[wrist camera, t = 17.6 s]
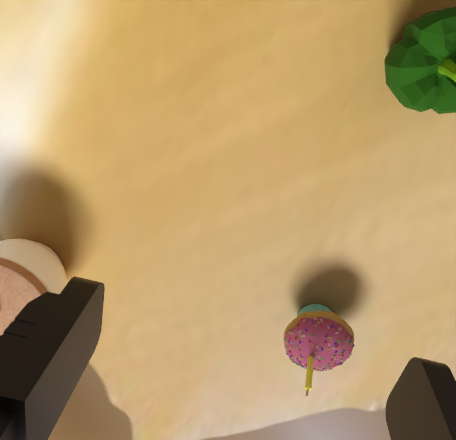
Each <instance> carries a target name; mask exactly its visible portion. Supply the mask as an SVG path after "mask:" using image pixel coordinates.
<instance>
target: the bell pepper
mask: <svg viewBox="0 0 456 440" xmlns="http://www.w3.org/2000/svg"><path fill="white" fill-rule="evenodd" d="M385 73H386V84H387V85H388V87H389V88H390V90H391V91H392V92H393V94H394V95H395V96H396V98H397V99H398V101H399V102H400V103H401V104H402V105H403V106H405V107H407V108H410V109H413V110H417V111H420V112H422V111H425V110H428V109H430V108H431V109H433V110H434V111H436V112H437V113H438V114H442V113H453V112H456V8H448V9H443V10H439V11H434V12H430V13H426V14H425V15H423V16H421V17H420V18H418V19H416V20H415V21H413V22H411V23H410V24H408V25H407V26H406V27H405V28H404V29H403V37H402V40H400V41H398V42H396V43H394V44H393V46H392V48H391V49H390V51H389V53H388V55H387V56H386V58H385Z"/></svg>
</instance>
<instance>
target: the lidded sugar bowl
mask: <svg viewBox="0 0 456 440" xmlns="http://www.w3.org/2000/svg"><path fill="white" fill-rule="evenodd" d="M66 285H67V277H66V272H65V270H64V267H63V265H62V263H61V260H60V259H59V257H58V255H57V254H56V253H55V252H54V251H53V250H52V249H51V248H49V247H48V246H46V245H44V244H42V243H39V242H35V241H31V240H26V239H6V240H2V241H0V335H3V333H4V330H5V329H6V328H7V327H8V326H9V325H10V323H11V322H14V319H15V317H16V316H17V315H18V314H19V313H20V311H21V310H22V309H23V308H24V307H25V305H26V304H27V303H28V302H30V301H32V300H33V299H35V298H37V297H39V296H40V295H42V294H44V293H45V292H51V293H56V294H60V293H61V291H62V290H63V289H64V287H65V286H66Z"/></svg>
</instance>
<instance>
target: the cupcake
mask: <svg viewBox="0 0 456 440" xmlns="http://www.w3.org/2000/svg"><path fill="white" fill-rule="evenodd" d="M353 342H354V333H353V330H352V328H351V327H350V326H349V325H348V324H347V323H346V322H345V321H344V320H342V319H341V318H340V317H339V316H338V315H337V314H335V313H332V311H331V310H330V309H329V308H328V307H326V306H324V305H321V304H310V305H307V306H305V307H303V308H302V309H301V310H300V311H299V313H298V315H297V317H296V318H295V319H294V320H293V321H292V322H291V323H290V324H289V325H288V326H287V328H286V330H285V332H284V345H285V350H286V352H287V353H286V354H287V355H288V356H289V358H290V360H291V359H292V360H291V361H292V362H294V363H296V364H297V365H300V366H301V367H304V368H305V369H307V375H306V385H305V389H306V390H307V391H306V395H305V396H307V395H308V391H310V390H311V385H312V373H313V370H317V371H323V370H325V371H326V370H328V369H332V368H334V367H336V366H338V365H342V364H343V362H344V361H345V360H347V359H348V358H349V357H350V355H351V352H352V349H353V347H354V344H353Z"/></svg>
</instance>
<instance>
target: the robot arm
mask: <svg viewBox="0 0 456 440" xmlns="http://www.w3.org/2000/svg"><path fill="white" fill-rule="evenodd" d="M103 301H104V284H103V283H101V282H96V281H92V280H88V279H84V278H79V277H73V278H72V279H71V280H70V281H69V282H68V283H67V285H66V286H65V287H64V289H63V290H62V291H61V293H60V294H56V293H51V292H45V293H44V294H42V295H40V296H39V297H37V298H35V299H33V300H32V301H30V302H28V303H27V304H26V305H25V307H24V308H23V309H22V310H21V311H20V313H19V314H18V315H17V316H16V317H15V319H14V322H11V323H10V325H9V326H8V327H7V328H6V329H5V330H4V333H3V335H0V440H47V439H48V438H49V436H50V434H51V432H52V430H53V428H54V426H55V424H56V423H57V421H58V419H59V417H60V415H61V413H62V411H63V409H64V407H65V406H66V404H67V401H68V400H69V398H70V396H71V394H72V392H73V390H74V389H75V387H76V385H77V383H78V381H79V379H80V377H81V375H82V373H83V372H84V370H85V368H86V366H87V364H88V362H89V360H90V358H91V357H92V355H93V353H94V351H95V348H96V346H97V343H98V340H99V337H100V333H101V326H102V314H103ZM386 421H387V426H388V429H389V433H390V437H391V440H456V381H455V379H454V377H453V375H452V372H451V370H450V369H449V367H448V366H447V365H446V364H443V363H438V362H434V361H430V360H426V359H421V358H417V357H414V358H412V359H411V360H410V361H409V362H408V364H407V365H406V367H405V369H404V371H403V372H402V374H401V376H400V378H399V379H398V381H397V383H396V384H395V386H394V388H393V390H392V391H391V393H390V395H389V397H388V400H387V404H386Z"/></svg>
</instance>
